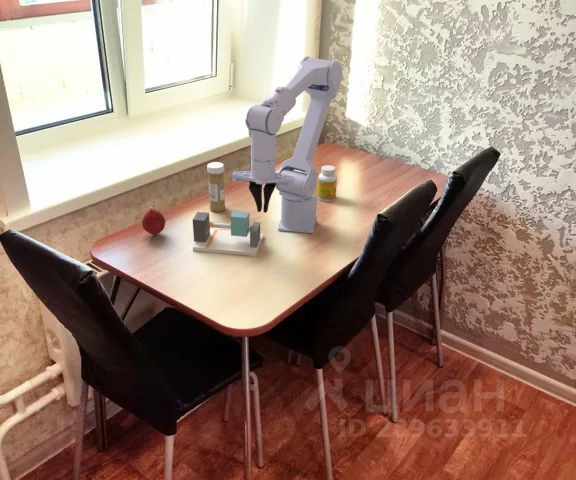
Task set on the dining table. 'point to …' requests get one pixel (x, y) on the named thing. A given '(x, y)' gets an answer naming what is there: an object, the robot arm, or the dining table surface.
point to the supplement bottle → (327, 184)
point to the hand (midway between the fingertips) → (262, 210)
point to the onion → (153, 221)
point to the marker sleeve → (239, 223)
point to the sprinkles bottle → (216, 186)
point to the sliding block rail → (224, 237)
